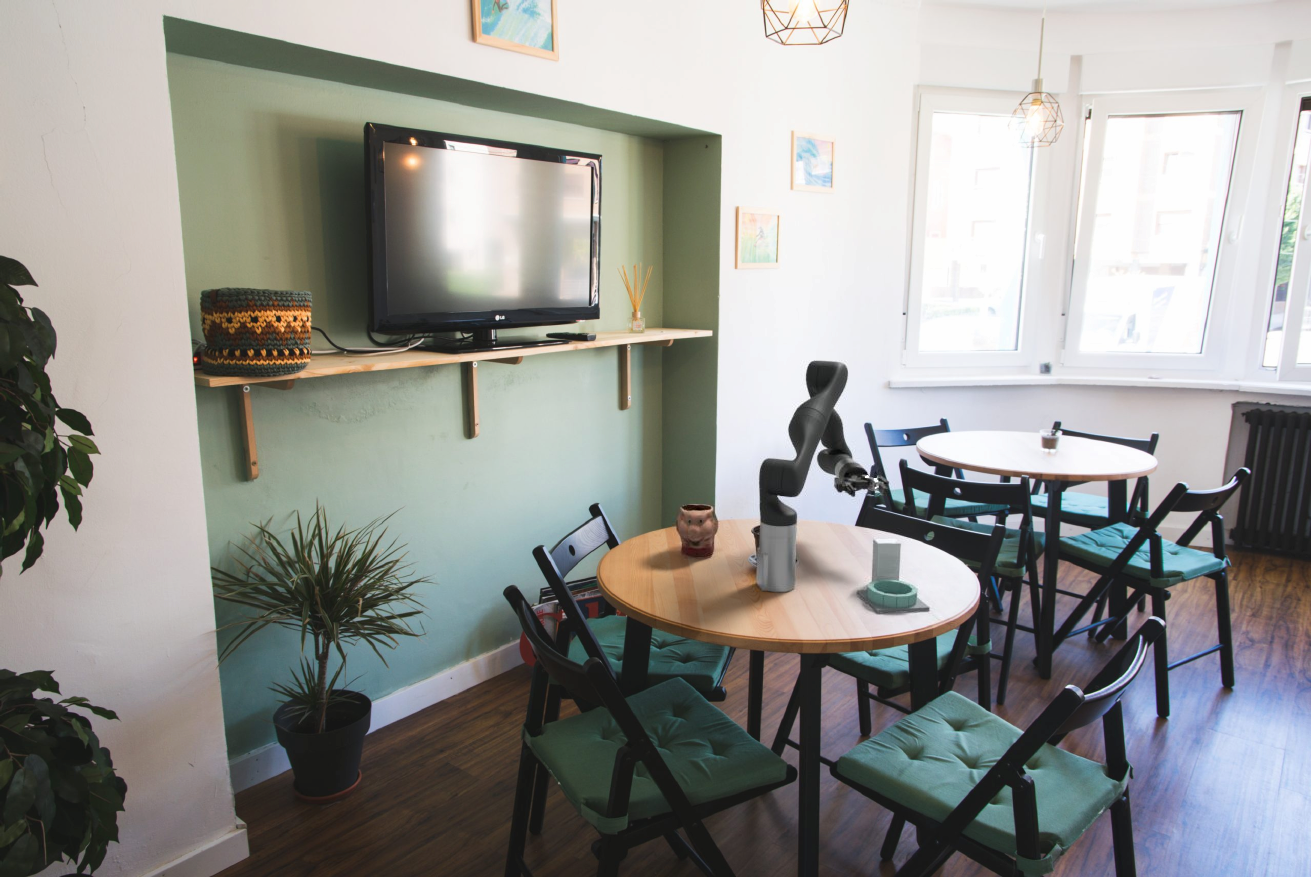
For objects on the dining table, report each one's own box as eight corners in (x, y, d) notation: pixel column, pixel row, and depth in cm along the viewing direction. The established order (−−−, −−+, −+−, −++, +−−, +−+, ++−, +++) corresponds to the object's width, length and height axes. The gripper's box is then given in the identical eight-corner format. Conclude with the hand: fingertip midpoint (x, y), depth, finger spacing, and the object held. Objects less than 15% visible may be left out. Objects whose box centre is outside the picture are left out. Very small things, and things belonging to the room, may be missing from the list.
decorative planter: (675, 541, 243) (676, 497, 241) (715, 542, 243) (716, 497, 241) (676, 563, 224) (676, 515, 221) (719, 563, 223) (720, 515, 221)
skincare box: (893, 582, 210) (896, 538, 207) (898, 588, 205) (901, 543, 203) (870, 582, 209) (872, 538, 207) (875, 588, 205) (877, 543, 203)
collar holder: (877, 613, 189) (878, 598, 188) (856, 593, 202) (856, 579, 201) (929, 610, 191) (930, 596, 190) (905, 590, 203) (905, 577, 203)
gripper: (827, 462, 231) (844, 480, 215) (875, 460, 232) (896, 478, 216) (826, 487, 233) (843, 507, 217) (874, 485, 234) (894, 504, 218)
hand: (869, 492), depth 217 cm, fingers open, 8 cm apart
